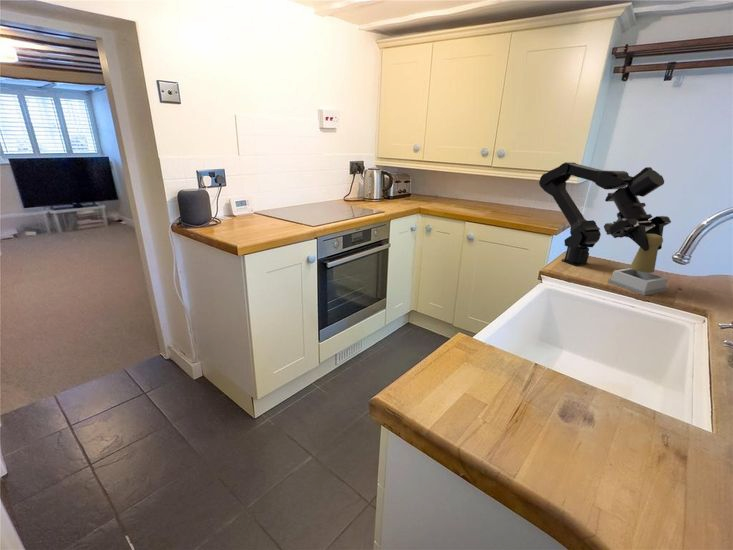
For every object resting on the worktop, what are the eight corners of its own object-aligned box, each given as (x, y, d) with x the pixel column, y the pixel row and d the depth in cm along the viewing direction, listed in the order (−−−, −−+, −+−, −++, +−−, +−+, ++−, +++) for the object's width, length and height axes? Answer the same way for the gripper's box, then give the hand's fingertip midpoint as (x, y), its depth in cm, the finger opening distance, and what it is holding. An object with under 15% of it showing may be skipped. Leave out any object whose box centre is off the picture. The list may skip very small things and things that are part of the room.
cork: (656, 274, 105) (669, 238, 101) (632, 270, 107) (644, 235, 103) (650, 267, 110) (662, 233, 106) (627, 264, 112) (638, 230, 108)
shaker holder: (607, 282, 113) (611, 270, 112) (630, 277, 117) (633, 266, 116) (644, 295, 104) (648, 282, 102) (666, 290, 108) (671, 278, 106)
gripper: (626, 218, 120) (649, 259, 115) (585, 220, 115) (607, 264, 109) (659, 199, 111) (685, 243, 105) (615, 200, 105) (641, 247, 99)
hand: (653, 249), depth 105 cm, fingers closed on cork, 5 cm apart
